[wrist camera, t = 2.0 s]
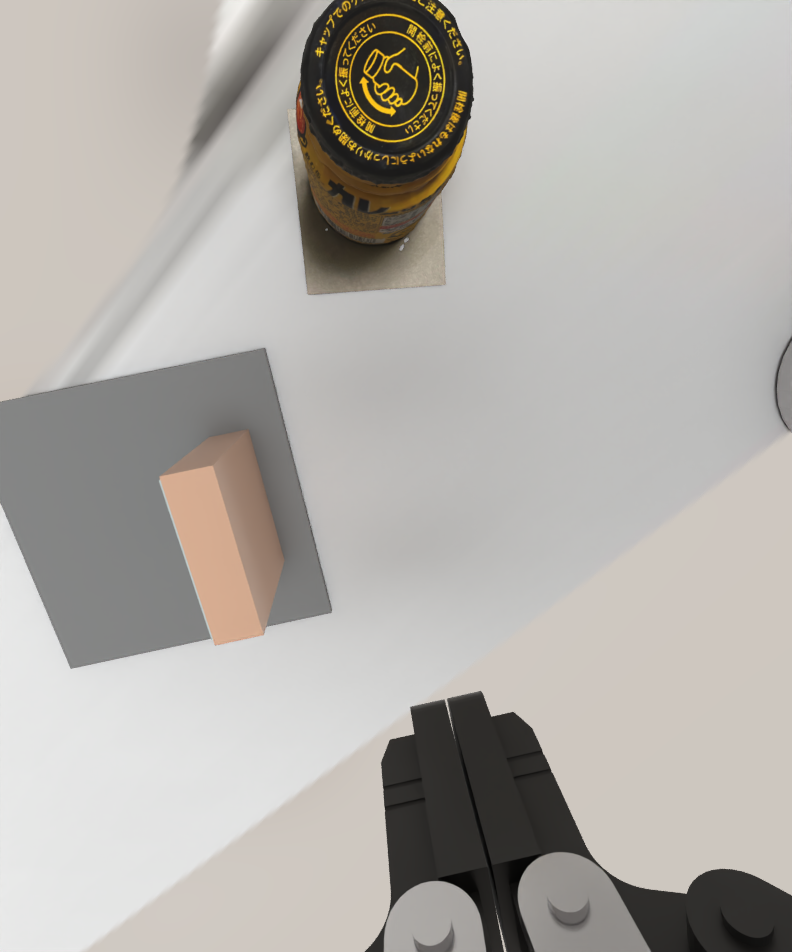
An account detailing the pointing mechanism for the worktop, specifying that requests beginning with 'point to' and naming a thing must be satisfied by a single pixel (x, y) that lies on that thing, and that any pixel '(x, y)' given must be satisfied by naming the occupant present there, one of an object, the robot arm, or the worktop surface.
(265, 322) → the worktop surface
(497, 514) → the worktop surface
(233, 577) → the tile
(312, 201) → the condiment
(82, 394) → the mat
